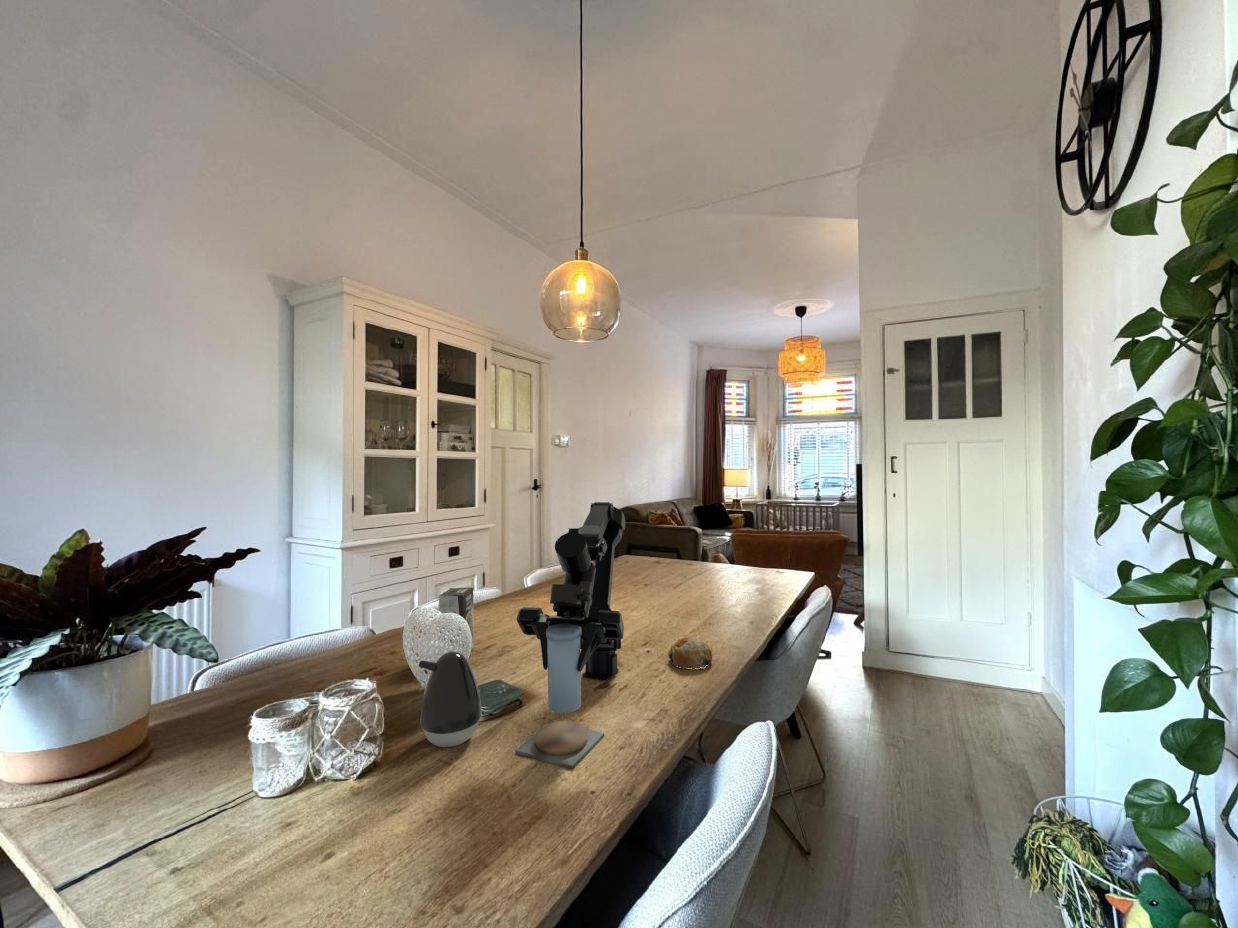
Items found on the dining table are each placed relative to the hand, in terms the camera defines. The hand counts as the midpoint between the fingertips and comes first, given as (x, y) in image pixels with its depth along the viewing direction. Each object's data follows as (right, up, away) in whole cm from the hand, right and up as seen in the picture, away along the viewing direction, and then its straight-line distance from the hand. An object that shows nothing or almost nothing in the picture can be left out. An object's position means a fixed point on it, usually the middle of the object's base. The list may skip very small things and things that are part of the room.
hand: (561, 669), depth 86 cm
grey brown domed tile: (0, -13, +1) cm, 13 cm away
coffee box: (-32, -14, +45) cm, 58 cm away
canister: (0, -7, +1) cm, 7 cm away
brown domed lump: (+27, -14, +38) cm, 48 cm away
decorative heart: (-29, -14, +23) cm, 40 cm away
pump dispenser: (-20, -14, +3) cm, 24 cm away
